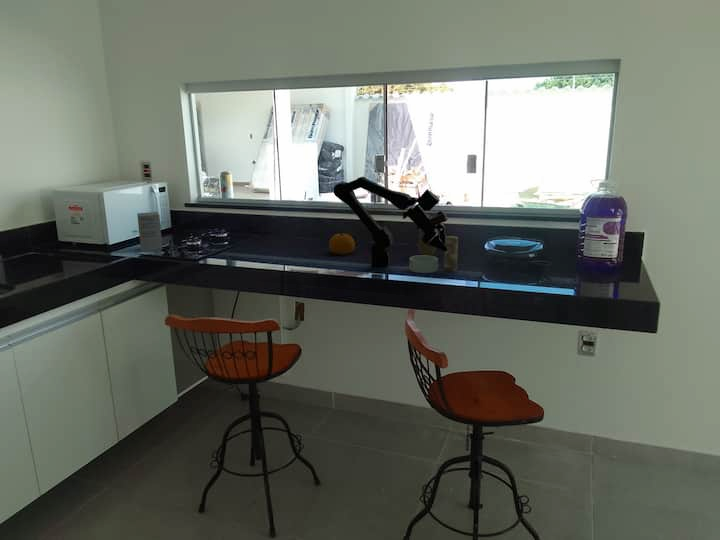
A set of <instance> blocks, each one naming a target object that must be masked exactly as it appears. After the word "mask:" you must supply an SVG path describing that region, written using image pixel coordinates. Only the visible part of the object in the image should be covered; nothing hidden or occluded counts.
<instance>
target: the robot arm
mask: <svg viewBox="0 0 720 540" xmlns="http://www.w3.org/2000/svg"><path fill="white" fill-rule="evenodd" d="M360 188H361V189H363V190H364V191H367V192H369V193H372V194H374V195H375V196H378V197H380V198H382V199H384V200H386V201H388V202H389V203H390V204H392V205H393V206H394V207H395V208H397V209H399V210H401V211H402V219H403V220H404V219H407V218H409V219H410V220H411V221H412V222H413V224H415V225H416V228H417V229H419V231H420V230H421V231H422V232H423V233H424V236H423V237H422V241H423V242H424V243H425V244H426V243H428V242H429V241H430V242H429V243H428V244H427V245H431V246H433V247H436V249H438V250H440V251H443V252H444V253H445V252H446V251H447V248H446V246H445V237H447V235H446V225H445V224H444V223H445V222H447V221H448V220H449V217H448V214H447V213H446V212H445V211H443V210H439V211H438V212H436V213H437V214H436V215H435V216H433V217H432V216H431V215H429V216H427V213H426V212H427V211H428V212H430V211H431V210H433V208H434V207H435V206H437V204H439V203H440V201H441V200H440V199H439V197H438V196H437V195H436V194H435V193H433V192H432V191H431V190H429V189H428V188H427V189H426V190H425V191H423V193H422V194H421V195H420V196H419V197H415V196H414V197H413V196H411V195H410V194H408V193H405V192H401V191H396V190H392V189H389V188H388V187H385V186H384V185H381V184H379V183H377V182H374V181H372V180H370V179H369V178H367V177H364V176H359V177H357V178H356V179H354V180H352V181H349V182H347V181H342V182H339V183H337V184H335V186H333V194H334V196H335V197H336V198H337V199H339V201H341V202H342V203H344V204H345V205H347V206H348V207H349V208H350V209H351V210H352V212H353V213H354V214H355V215H356V217H357V218H358V219H359V220H360V222H361V223H362V224H363V225H364V226H365V227H366V229H367V230H368V231H369V232H370V234H371V236H372V239H373V241H374V242H375V243H373V245H372V246H370V250H371V265H370V267H371V268H387V267H388V266H389V265H390V253H389V250H388V249H389V247H390V246H391V245H392V244H393V242H394V237H393V235H392V234H393V232H391V231H390V229H389V228H388V227H387V225H384V226H381V225H380V224H379V223H378V222H377V221H376V220H375V219H374V217H373V216H372V215H371V214H370V213H369V211H368V210H367V209H366V208H365V207H364V205H363V204H362V203H361V202H360V200H359V199H358V198H357V196H356V194H355V190H358V189H360ZM413 206H414V207H413ZM407 209H408V210H407ZM404 210H406V211H404Z"/></svg>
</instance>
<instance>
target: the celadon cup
mask: <svg viewBox="0 0 720 540" xmlns="http://www.w3.org/2000/svg"><path fill="white" fill-rule="evenodd" d="M408 265H409V266H408V267H409V271H410V272H413V273H418V274H430V273H436V272H437V271H438V270H439V269H438V268H439V267H438V266H439V258H438V257H436V256H434V255H432V256H429V255H420V254H418V255H413V256H410V257H409V264H408Z"/></svg>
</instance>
